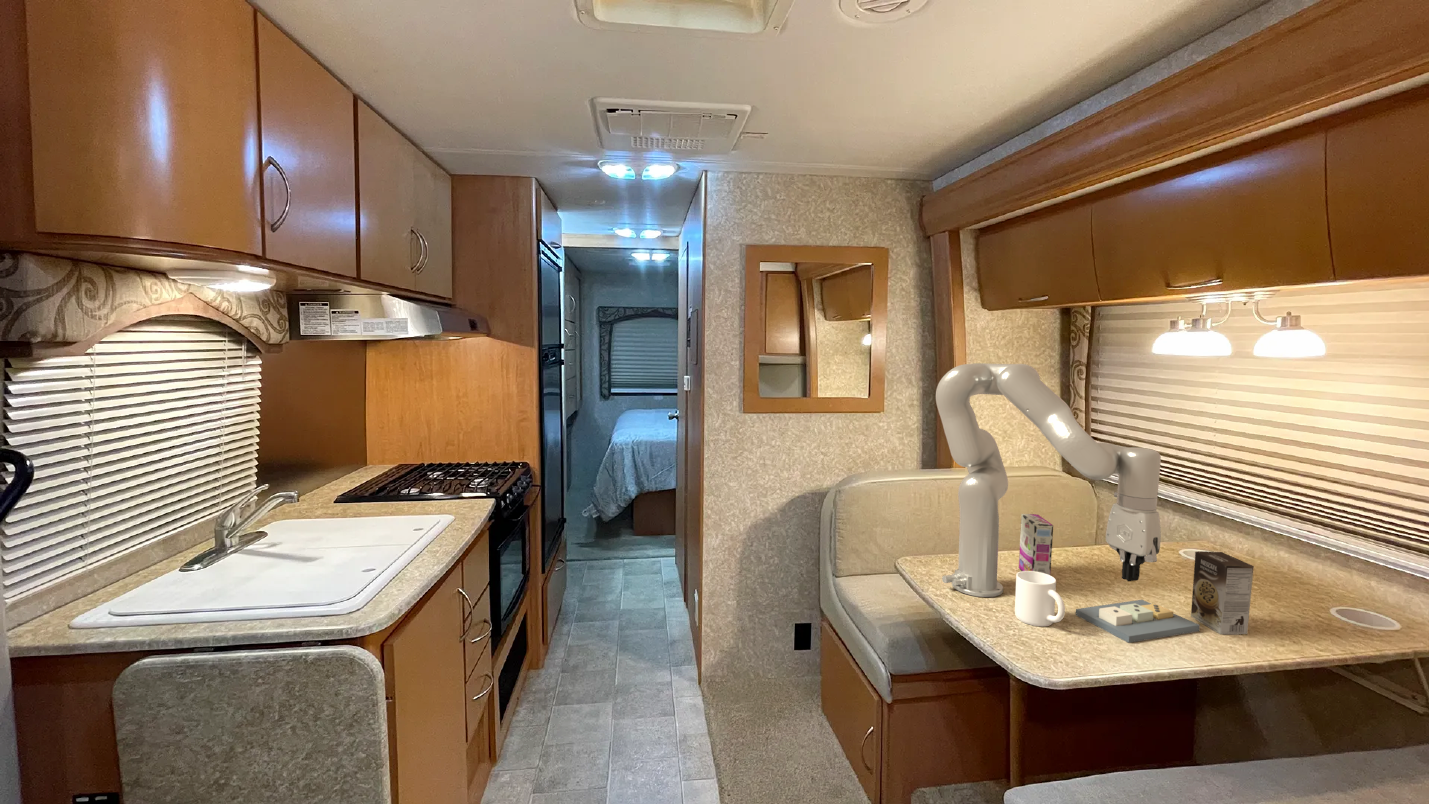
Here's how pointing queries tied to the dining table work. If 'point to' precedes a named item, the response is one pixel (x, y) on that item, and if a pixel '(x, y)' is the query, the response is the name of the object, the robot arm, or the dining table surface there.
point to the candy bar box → (1035, 544)
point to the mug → (1037, 599)
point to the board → (1139, 624)
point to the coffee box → (1221, 592)
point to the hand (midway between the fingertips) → (1130, 579)
